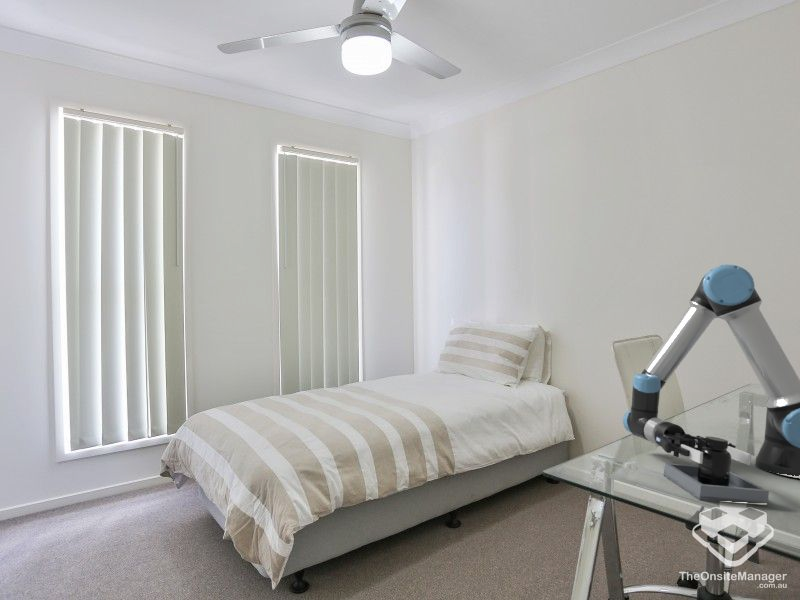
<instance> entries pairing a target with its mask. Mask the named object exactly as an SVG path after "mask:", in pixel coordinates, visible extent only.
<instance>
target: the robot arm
mask: <svg viewBox="0 0 800 600" xmlns="http://www.w3.org/2000/svg"><path fill="white" fill-rule="evenodd" d="M754 281H755V280H754V277H753V276H752V275H751V273H750V272H749V271H748V269H745V268H744V267H742V266H739V265H734V264H721V265H719V266H715V267H714V268H712V269H710V270H709V271H708V272H707V273H706V274H705V275H703V277H702V278H701V281H700V283H699V285H698V286H697V289H696V291H694V294H693V295H692V297H691V298H690V300H689V307H688V308H687V310H686V311H685V313H684V314H683V315H682V317H681V318H680V319H679V321H678V322H677V323H676V325H675V326H674V328H673V329H672V331H671V332H670V333H669V334H668V336H666V339H665V340H664V341H663V343H661V345H660V347H659V348H658V350H657V351H656V353H655V354H653V357H652V358H651V359H650V361H648V363H647V365H646V366H645V367H644V369H643V370H642V372H641V373H636V374H635V375H634V376H633V381H632V394H631V395H632V396H631V406H630V410H628V411H627V412H626V413H625V414H624V416H623V417H622V424H623V427H624V428H625V430H626V431H627V432H629V433H631V434H633V436H636V437H637V438H641V439H643V440H646V441H647V442H651V443H653V444H655V447H661V448H662V449H663V450H664V452H665V453H667V454H671V453H672V452H673V457H676V458H679V457H680V456H682V457H684V458H686V459H689V460H691V461H693V462H696V463H698V464H702V460H703V452H700V449H701V448H702V447H704V446H706V444H705V437H703V436H701V435H696V436H694V435H691V434H689V433H686V432H685V430H684V429H683V427H681V425H678V424H676V423H672V422H670V421H668V420H665V419H662V418H659V417H658V416H659V403H660V394H661V390H662V389H663V387H664V386H665V384H666V383H667V381H668V380H670V378H671V376H672V375H673V373H674V372H675V371H676V370H677V368H678V367H679V365H680V364H681V363H682V362H683V360H684V359H685V358H686V356H687V355H688V353H690V351H691V350H692V348H693V347H694V345H696V343H697V342H698V341H699V339H700V338H701V336H702V335H703V334H704V333H705V331H706V330H707V328H708V327H710V324H712V322H713V321H714V320H715V319H721V320H724V321H725V322H726V324H727V325H728V327H729V329H730V330H731V333H732V334H733V336H734V337H735V339H736V341H737V343H738V345H739V347H740V348H741V350H742V353H743V354H744V356H745V357H746V359H747V361H748V364H749V365H750V366H751V368H752V371H753V372H754V373H755V376H756V377H757V380H758V382H759V383H760V385H761V386H762V389H763V390H764V392H765V394H766V395H767V396H766V397H767V399H766V400H767V401H766V405H765V406H766V414H765V415H766V416H765V418H766V419H765V428H764V429H765V430H764V439H763V443H762V444H761V446H760V449H759V451H758V453H757V455H756V456H755V461H754V463H755V464H754V465H755V466H756V467H757V468H758V469H761V470H763V471H765V470H767V471H766V472H768V471H771V472H774V473H779V474H787V475H792V476H794V475H795V476H799V475H800V377H799V376H798V375H797V372H796V371H795V369H794V367H793V365H792V364H791V362H790V360H789V359H788V357H787V355H786V354H785V351H784V350H783V348H782V346H781V344H780V343H779V341H778V339H777V338H776V335H775V334H774V332H773V331H772V329H771V328H770V325H769V323H768V321H767V320H766V318H765V317H764V315H763V313H762V311H761V310H760V307H761V305H762V303H763V299H761V297H760V294H758V291H757V290H756V288H755V282H754ZM696 446H697V447H696ZM726 450H727V451H728V452H729V453H730V454H731V460H735V461H737V462H738V463H741V464H744V465H747V466H751V460H752V459H751V458H752V454H751V453H749V452H746V451H743V450H741V449H738V448H736V445H734V444H733V443H731V442H729V443H728V448H727V449H726ZM774 473H773V474H774Z"/></svg>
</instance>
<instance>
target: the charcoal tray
mask: <svg viewBox="0 0 800 600" xmlns="http://www.w3.org/2000/svg"><path fill="white" fill-rule="evenodd" d="M663 467H664V468H663V476H664V478H666V477H667V478H666V479H668V480H669V481H671V482H672V483H673V484H675V485H677V486H678V485H679V486H678V487H680V488H681V489H683V490H684V491H686V492H687V493H689V494H690V495H691V496H693V497H694V498H695V499H698V500H699V501H706V502H715V503H717V502H716V501H732V502H748V503H769V490H767V489H765V488H763V487H762V486H759V485H757V484H755V483H754V482H751V481H750V480H747V478H744V477H742V476H740V475H738V474H736V473H734V472H732V471H731V470H730V481H729V486H717V485H706V484H701V483H700V482H698V481H697V477H698V465H691V464H681V463H668V462H664V466H663Z"/></svg>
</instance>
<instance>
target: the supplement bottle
mask: <svg viewBox="0 0 800 600" xmlns="http://www.w3.org/2000/svg"><path fill="white" fill-rule="evenodd" d="M704 438H705V444H706V446H704V447H702V448H701V449H700V452H703V460H702V464H699V463H698V465H697V466H698V477H697V481H698V482H700V483H701V484H706V485H717V486H729V481H730V471H731V469H732V468H731V467H732V459H731V454H730V453H729V452H728V451H727V450H726V449H727V448H728V444H729V443H728V442H729V441H728V440H727V439H724V438H721V437H717V436H705V437H704Z"/></svg>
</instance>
